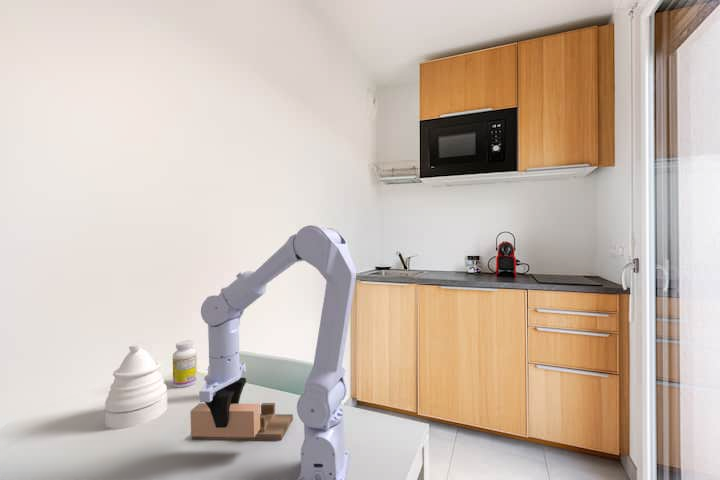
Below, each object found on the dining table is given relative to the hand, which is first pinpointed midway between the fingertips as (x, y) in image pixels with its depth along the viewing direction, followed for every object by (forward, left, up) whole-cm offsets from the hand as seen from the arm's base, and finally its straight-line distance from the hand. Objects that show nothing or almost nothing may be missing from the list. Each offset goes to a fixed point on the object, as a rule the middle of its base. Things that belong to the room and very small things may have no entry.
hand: (226, 421), depth 63 cm
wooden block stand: (+8, 0, -6) cm, 10 cm away
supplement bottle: (+32, +31, -6) cm, 45 cm away
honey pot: (+14, +31, -6) cm, 35 cm away
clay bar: (0, 0, -2) cm, 2 cm away
